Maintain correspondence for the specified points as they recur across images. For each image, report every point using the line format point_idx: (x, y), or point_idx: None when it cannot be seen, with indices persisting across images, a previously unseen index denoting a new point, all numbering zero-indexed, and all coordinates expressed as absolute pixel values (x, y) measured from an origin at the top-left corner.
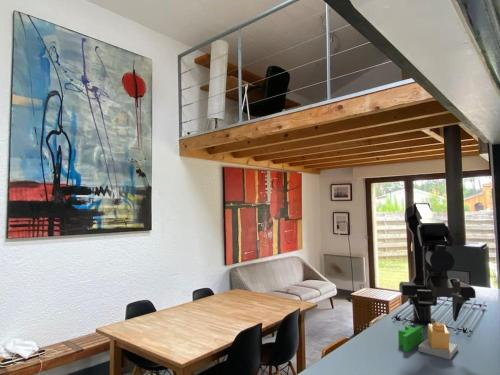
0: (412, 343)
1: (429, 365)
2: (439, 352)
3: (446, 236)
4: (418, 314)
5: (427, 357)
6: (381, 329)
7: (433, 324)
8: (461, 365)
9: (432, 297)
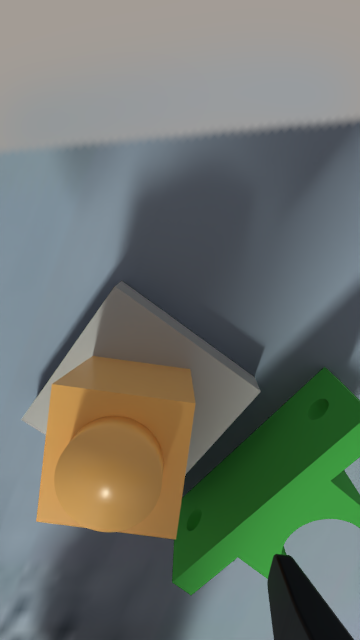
0: (275, 432)
1: (271, 196)
2: (164, 318)
3: None
4: (324, 609)
5: (237, 302)
6: None
7: (150, 491)
8: (85, 211)
9: None
